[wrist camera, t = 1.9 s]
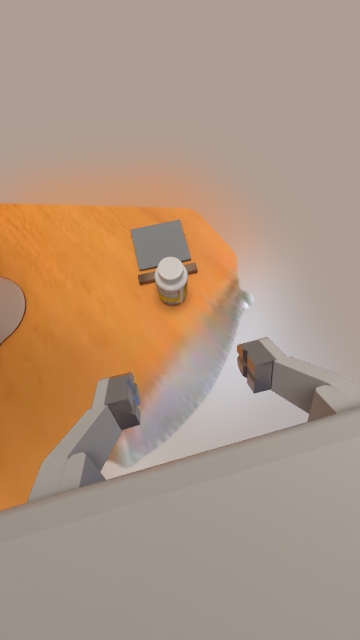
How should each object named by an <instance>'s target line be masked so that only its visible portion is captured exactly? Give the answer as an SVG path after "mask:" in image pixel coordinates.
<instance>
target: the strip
mask: <svg viewBox="0 0 360 640" xmlns="http://www.w3.org/2000/svg"><path fill="white" fill-rule="evenodd" d="M184 266H185V268H186V270H187V273H188V274H192V273H196V272H197V266H196V263H192V264H187V265H184ZM138 279H139V283H140V285H143V284H147V283H152V282H155V272H151V273H146V274H142V275H138Z"/></svg>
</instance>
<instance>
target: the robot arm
mask: <svg viewBox="0 0 360 640" xmlns="http://www.w3.org/2000/svg"><path fill="white" fill-rule="evenodd" d="M24 310H25V298H24V295H23V292H22V290H21V289H20V287H19V286H18V285H17V284H16V283H14V282H13V281H11V280H9V279H6V278H3V277H1V276H0V344H1V343H2V342H3V341H4V340H5V339H6V338H7V337H8V336H9V335H10V334H11V333H12V332H13V331H14V330H15V329H16V328H17V326H18V325H19V323H20V321H21V319H22V317H23V314H24ZM237 352H238V353H239V357H238V358H237V360H238V366H239V369H240V372H241V373H242V375H243V376H244V377H246V378H247V383H248V385H249V386H250V388H251V390H252V391H253V393H258V392H262V391H266V390H270V389H271V390H272V391H273V392H275V393H276V394H278V395H280V396H281V397H283V398H285V399H286V400H288V401H289V402H291V403H293V404H294V405H296V406H298V407H299V408H301V409H302V410H304V411H305V412H307V413H309V418H308V422H306V423H303V424H299V425H296V426H292V427H289V428H285V429H282V430H278V431H275V432H271V433H268V434H265V435H261V436H257V437H254V438H251V439H247V440H244V441H241V442H237V443H233V444H230V445H226V446H223V447H219V448H216V449H212V450H209V451H206V452H202V453H199V454H195V455H192V456H188V457H185V458H182V459H178V460H174V461H171V462H168V463H164V464H160V465H157V466H154V467H150V468H147V469H144V470H140V471H136V472H133V473H129V474H126V475H122V476H119V477H115V478H112V479H108V480H106V479H105V478H104V477H103V475H102V474H101V473H100V471H101V469H102V468H103V466H104V464H105V462H106V460H107V458H108V456H109V454H110V453H111V451H112V449H113V447H114V445H115V443H116V441H117V440H118V438H119V436H120V434H121V432H122V430H124V429H127V428H130V427H133V426H137V425H140V410H139V408H138V406H139V404H140V395H139V390H138V387H137V384H135V383H134V377H133V375H132V373H131V372H129V373H125V374H121V375H116V376H112V377H109V378H104V379H100V380H99V381H98V383H97V388H96V392H95V396H94V400H93V404H92V408H91V409H89V410H87V411H86V413H85V414H84V415H83V416H82V417H81V418H80V420H79V421H78V422H77V423H76V424H75V425H74V426H73V428H72V429H71V430H70V431H69V432H68V433H67V434H66V436H65V437H64V438H63V439H62V440H61V441H60V443H59V444H58V445H57V446H56V447H55V448H54V449H53V451H52V452H51V453H50V454H49V455H48V456H47V457H46V459H45V460H44V461H43V462H42V465H41V467H40V470H39V472H38V475H37V478H36V480H35V483H34V485H33V488H32V490H31V493H30V496H29V498H28V501H27V503H25V504H22V505H18V506H15V507H11V508H8V509H4V510H1V511H0V640H360V385H359V384H358V383H356V382H355V381H354V380H353V379H351V378H350V377H347V376H344V375H342V374H339V373H336V372H333V371H330V370H328V369H325V368H322V367H319V366H316V365H313V364H311V363H308V362H305V361H302V360H300V359H297V358H294V357H291V356H290V357H287V356H286V355H285V354H284V353H283V352H282V351H281V350H280V349H279V348H278V347H277V346H276V345H275V344H274V343H273V342H272V341H271V340H270V339H269V338H267V337H265V338H261V339H258V340H255V341H251V342H247V343H243V344H239V345H238V346H237Z"/></svg>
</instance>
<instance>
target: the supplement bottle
mask: <svg viewBox="0 0 360 640" xmlns="http://www.w3.org/2000/svg"><path fill="white" fill-rule="evenodd" d="M187 281H188V273H187V270H186V268H185V266H184V265H183V264H182V262H181V261H180V260H179V259H177V258H175V257H166V258H164V259H162V260H161V261H160V263H159V265H158V267H157V269H156V271H155V282H156V285H157V289H158V292H159V296H160V298H161V300H162V301H163V302H164V303H166V304H168V305H178V304H180V303H181V302H183V300H184V299H185V297H186V294H187Z"/></svg>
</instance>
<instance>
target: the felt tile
mask: <svg viewBox="0 0 360 640" xmlns="http://www.w3.org/2000/svg"><path fill="white" fill-rule="evenodd" d="M131 233H132V238H133V243H134V247H135V252H136V256H137V261H138V266H139V270H140V271H143V270H148V269H152V268H157V267H158V265H159V263H160V261H161V260H162V259H164V258H166V257H175V258H177V259H179V260H180V261H181V262H184V261H189V260H191V257H190V254H189V250H188V247H187V243H186V240H185V237H184V233H183V230H182V226H181V223H180V220H176V221H171V222H166V223H162V224H157V225H152V226H147V227H142V228H137V229H132V230H131Z"/></svg>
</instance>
